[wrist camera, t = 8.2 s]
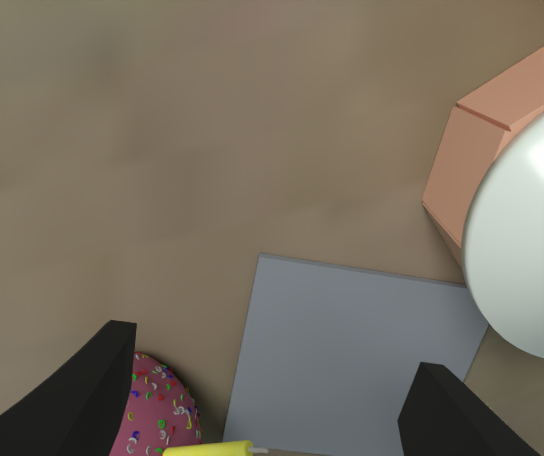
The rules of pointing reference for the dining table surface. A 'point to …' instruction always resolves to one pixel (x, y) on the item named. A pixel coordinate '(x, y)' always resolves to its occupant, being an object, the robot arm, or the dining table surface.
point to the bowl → (480, 142)
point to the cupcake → (166, 418)
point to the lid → (510, 241)
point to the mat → (342, 354)
